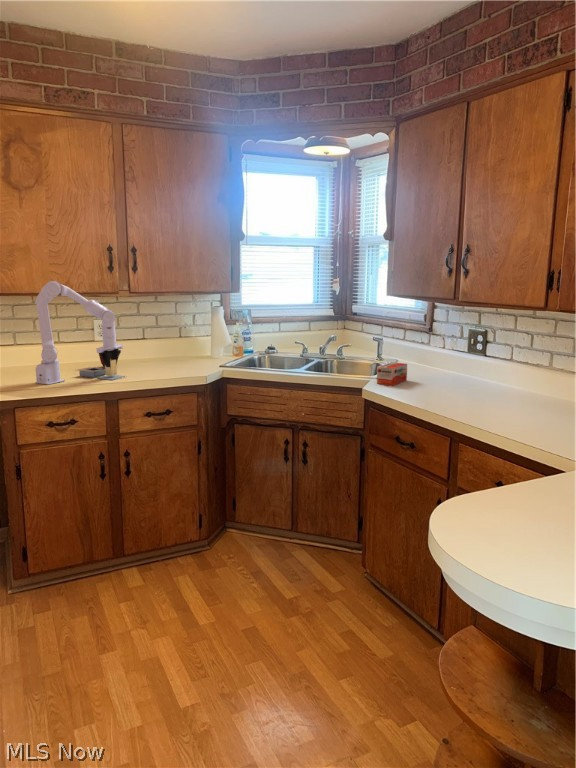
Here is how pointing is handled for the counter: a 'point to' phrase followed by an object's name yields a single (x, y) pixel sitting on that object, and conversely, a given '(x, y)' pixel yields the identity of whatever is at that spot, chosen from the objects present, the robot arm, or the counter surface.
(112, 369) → the beige block
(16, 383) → the counter surface
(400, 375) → the medicine box
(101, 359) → the mug
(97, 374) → the block
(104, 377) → the slate mat
